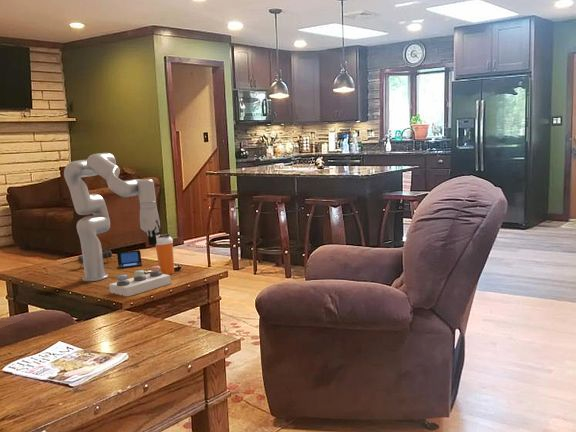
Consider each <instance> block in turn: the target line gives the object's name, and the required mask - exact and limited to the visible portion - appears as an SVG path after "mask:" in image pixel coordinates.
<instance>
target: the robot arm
mask: <svg viewBox="0 0 576 432" xmlns="http://www.w3.org/2000/svg"><path fill="white" fill-rule="evenodd" d="M64 167H65V168H64V170H63V171H64V172H63V177H64V179H65V182H66V184H67V187H68V189H69V192H70V197H71V200H72V204H73V208H74V211H75V212H76V214H78V215H80V216H85V215H90V214H92V215H91V216H85V217H82V218H81V219H79V220H78V221H77V223H76V231H77V234H78V237H79V242H80V248H81V256H83V263H82V264H83V272H82V273H83V274H84V276H82V281H83V282H95V281H102V280H106V279H107V278H108V277H109V274H108V273H105V265H104V259H103V256H102V252H103V247H102V243H101V240H100V239H99V237H98V235H99V234H100V235H101V234H103V233H106V232H107V231H109V230H110V228H111V219H110V216H109V211H108V208H107V204H106V201H105V199H104V197H103V196H102V195H101V194H99V193H91V194H90V192H89V188H88V185H87V184H86V183H85V181H84V180H83V179H82V178H87V177H94V176H100V177H102V178H103V179H104V180H106V185H107V186H108V188H109V190H110V191H112V192H113V193H115V194H116V195H118V196H120V197H121V198H130V197H134V196H138V201H139V208H140V209H139V225H140V229H141V230H142V231H143V232H144V233H145V234H146V235H147V237H148V245H149V246H156V245H155V244H157V241H156V236H157V235H158V233H160V229H161V220H160V214H159V211H158V206H157V197H156V188H155V183H154V180H153V179H152V178H147V179H141V178H136V179H128V180H123V179H120V178H119V176H120V173H121V170H120V167H119V166H118V165H117V161H116V157H115V156H114V155H113V154H112V153H110V152H99V153H93V154H90V155H89V156H88V157H87V159H79V160H73V161H71V162H68V163H67V164H66V166H64Z"/></svg>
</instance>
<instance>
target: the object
mask: <svg viewBox="0 0 576 432" xmlns="http://www.w3.org/2000/svg"><path fill="white" fill-rule="evenodd" d="M116 254H117V255H116V256H117V257H116V258H117V264H118V267H117V268H118V269H119V270H121V269H130V268H131V269H132V268H137V267H142V266H143V263H142V256H141V255H142V254H141V251H140V249H138V250H136V249H135V250H129V251H121V252H120V251H119V252H117V253H116Z"/></svg>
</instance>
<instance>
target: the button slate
mask: <svg viewBox="0 0 576 432" xmlns="http://www.w3.org/2000/svg"><path fill="white" fill-rule="evenodd" d="M127 279H129V277H128V274H120V275H117V281H118V282H119V281H123V280H127Z"/></svg>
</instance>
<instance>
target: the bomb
mask: <svg viewBox="0 0 576 432" xmlns="http://www.w3.org/2000/svg"><path fill="white" fill-rule="evenodd" d="M108 246H109V247H108V248H110V247H111V246H110V245H108ZM75 254H77V256H78V257H77V260H72V261H69V262H64V263H62V265H67V264H70V263H74V262H78V263H79V264H81V265H80V266H79V268H81V267H82V265H83V264H84V263H83V256H82V255H79V254H78V253H75ZM102 256H103V260H104V259H106V260H107V262H109V260H108V259H111V258H112V257H114V258H115V257H116V256H114V255H113V253H112V251H111V250H110V249H107V250H105V249H104V248H102Z"/></svg>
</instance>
